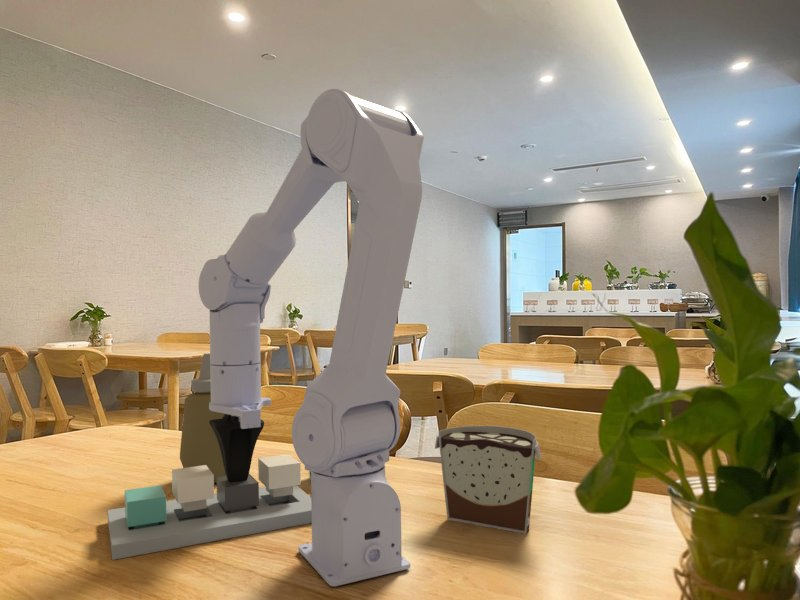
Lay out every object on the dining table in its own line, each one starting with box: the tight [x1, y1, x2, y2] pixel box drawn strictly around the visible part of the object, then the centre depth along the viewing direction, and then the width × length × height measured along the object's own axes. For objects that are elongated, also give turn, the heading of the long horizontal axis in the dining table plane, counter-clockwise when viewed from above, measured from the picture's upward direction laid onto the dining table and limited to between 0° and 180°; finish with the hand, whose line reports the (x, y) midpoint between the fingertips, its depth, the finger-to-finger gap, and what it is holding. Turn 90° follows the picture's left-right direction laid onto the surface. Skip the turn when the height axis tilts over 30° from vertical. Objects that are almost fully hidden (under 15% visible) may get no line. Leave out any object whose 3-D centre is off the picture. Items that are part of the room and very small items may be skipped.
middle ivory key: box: [171, 465, 215, 512], centre depth 69 cm, size 5×4×4 cm
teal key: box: [124, 484, 167, 530], centre depth 67 cm, size 5×4×4 cm
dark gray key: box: [216, 473, 260, 514], centre depth 71 cm, size 5×4×4 cm
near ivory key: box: [257, 453, 302, 497], centre depth 74 cm, size 5×4×4 cm
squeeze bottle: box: [179, 352, 226, 484], centre depth 87 cm, size 8×8×18 cm
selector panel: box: [107, 485, 312, 561], centre depth 70 cm, size 12×22×1 cm, turn 117°
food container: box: [434, 425, 542, 535], centre depth 70 cm, size 12×6×10 cm, turn 59°
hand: (237, 479), depth 71 cm, fingers closed
